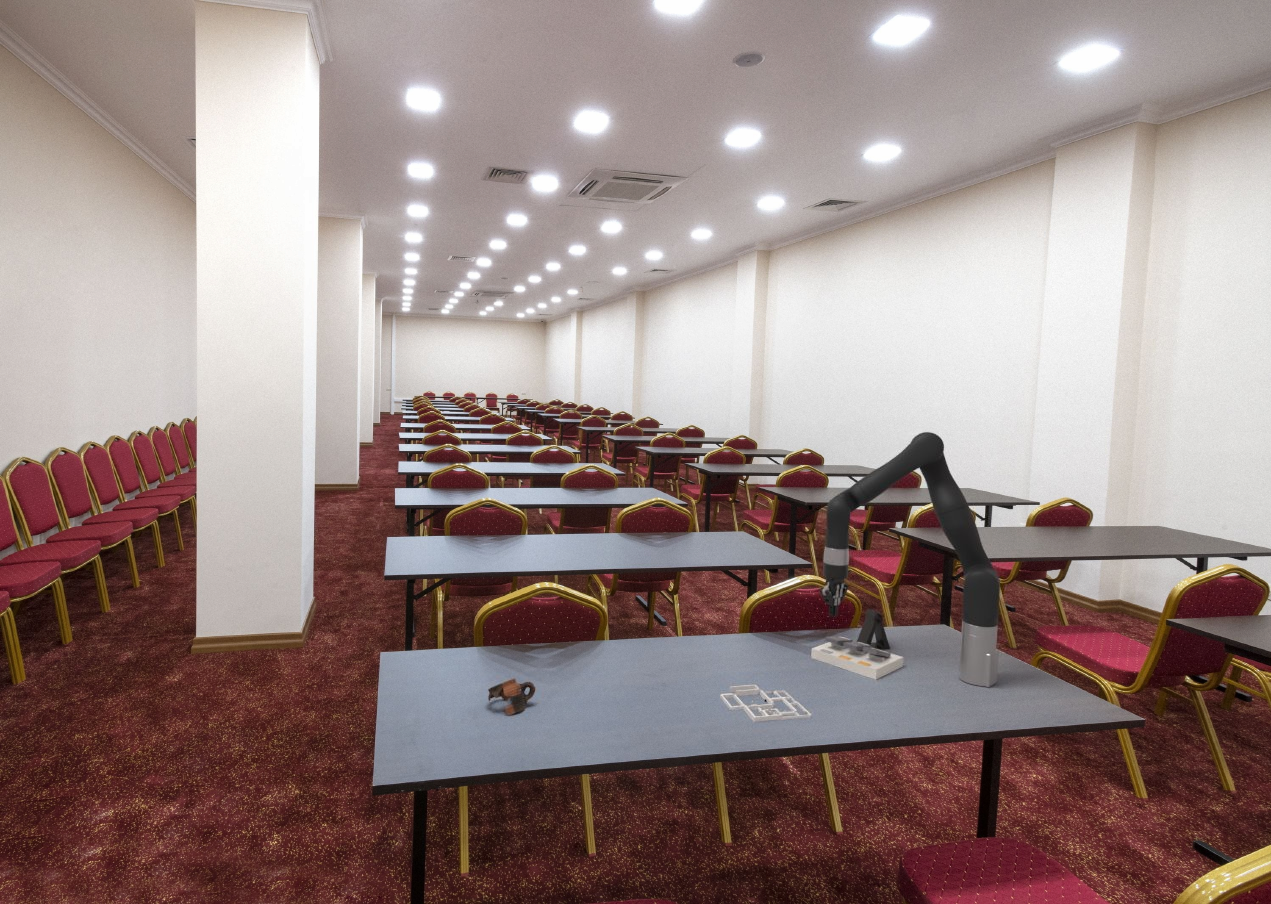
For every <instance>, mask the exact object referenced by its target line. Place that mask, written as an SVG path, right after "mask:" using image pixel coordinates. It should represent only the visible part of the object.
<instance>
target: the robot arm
mask: <svg viewBox="0 0 1271 904" xmlns="http://www.w3.org/2000/svg"><path fill="white" fill-rule="evenodd" d="M944 451H945V443H944V441H943V439H942V438H941V436H939V435H938V434H936V433H935V432H930V431H923V432H921V433H918V434H917V435H915V436H914V437H913V438H912V440H911V441H910V442H909V444H907V446H906V447H905V448H904V449H902V451H901V452H900V453H898V454H897V455H896V456H894V457H892V459H890V460H889V461H887V462H885V463H884V464H883V465H880V466H879V467H877V468H876V469H874V470H873V471H871V472H869V473H868V474H866V475H865V476H864V477H862V478H861V479H860V480H857V482H855V483H854V484H852V486H850V487H849V488H847V489H845V490H843V491H841V492H840V493H838V494H837V495H834V497H832V498H831V499H830V500H829V501H828V503H827V505H826V531H825V540H824V541H825V543H824V552H823V562H822V563H823V564H822V566H823V567H822V575H823V576H824V577H825V583H824V585H825V586H824V587H823V588H820V589H819V593H820V594H821V597H822V598H823V601H824V604H825V603H826V604H827V605H829V606H828V607H829V609H828V616H830V617H832V618H836V617H838V615H839V613H838V612H839V605H840V604H841V602H842V603H843V601H844V599H845V596H846V595H847V592H848V591H849V587H850V585H849V584H847V583H846V582H845V579H847V578H848V577H849V566H850V565H849V564H850V563H849V562H850V561H849V560H850V552H849V547H850V546H849V545H850V532H849V530H850V523H851V514H852V513H853V512H854V511H855V510H857V509H858V508H860V507H861V506H863V505H864V506H865V505H867V504H868V503H870V502H871V501H873V500H875V499H876V498H877V497H879V496H880V495H881V494H883V493H885V492H886V491H887V490H888V489H890V488H891V487H893V485H896V483H898V482H899V481H900V480H901V479H904V478H905V476H907V475H909V474H911V473H912V472H914V471H916V470H918V469H919V470H920V472H921V474H922V476H923V478H924V480H925V483H926V486H927V490H928V493H929V497H930V501H931V503H932V504H931V505H932V507H933V511H934V513H935V515H936V517H937V520H938V523H939V525H940V527H941V529H942V531H943V533H944V535H945V536H946V538H947V540H948V542H949V543H950V545H951V546H952V548H953V549H954V551H955V552H956V554H957V557H958V559H959V562H960V565H961V568H962V571H963V575H964V580H963V588H962V589H963V590H962V591H963V593H962V609H961V610H962V611H961V612H962V619H961V620H962V621H961V635H960V636H961V638H960V640H961V641H960V656H959V672H958V673H959V674H958V677H959V679H960V680H961V681H963V682H965V683H966V684H969V685H973V686H980V687H987V688H990V687H992V686H994V685H995V684H996V683H998V671H999V654H1000V653H999V650H998V649H997V642H998V640H997V639H998V623H999V606H1000V605H999V604H1000V591H1001V589H1000V588H1001V579H1000V577H999V575H998V573H997V571H996V569H995V568H994V566H993V564H992V562H991V561H990V559H989V557H988V555H987V553H986V551H985V549H984V547H983V544H982V540H981V537H980V533H979V529H978V527H977V524H976V521H975V518H974V516H973V512H972V511H971V508H970V506H969V504H968V502H967V501H968V500H966V497H965V495H964V494H963V491H962V489H961V488H960V487H959V485H958V483H957V481H955V479H954V477H953V475H952V474H951V471H950V469H949V466H948V463H947V460H946V457H945V453H944Z"/></svg>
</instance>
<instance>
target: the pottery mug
mask: <svg viewBox="0 0 1271 904" xmlns="http://www.w3.org/2000/svg"><path fill="white" fill-rule="evenodd" d="M527 688H528V689H529V691H528V693H527V694H526V692H525V691H526V689H527ZM487 690H488V692H489V694H488V696H487V697H488V699H487V700H488V701H489V702H490V701H491V699H493V698H496V699H497V698H501V699H502V700H503V701H505V702H506V701H507V700H510V702H511V703H510V705H509V704H508V705H507V706H505V707H504V711H505V713H506V716H507V717H509V716H512V715H514V714H516V713H520V712H523V711H525V710H526V705H527V704H528V701H529V700H530V699H532V698H533V696H534V695H535V693H536V686H535V684H534V683H533V682H532V681H525V682H523V683H518V682H517V681H516V678H511V679H509V680H506V681H504V682H501V683H498V684H497V685H494V686H492V687H490V688H488V689H487Z"/></svg>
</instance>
